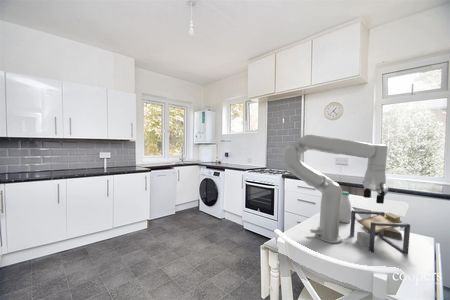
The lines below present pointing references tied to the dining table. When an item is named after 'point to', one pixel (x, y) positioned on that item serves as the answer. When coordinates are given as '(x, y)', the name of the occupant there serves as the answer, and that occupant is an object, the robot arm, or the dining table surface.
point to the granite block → (363, 238)
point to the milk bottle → (345, 208)
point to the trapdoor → (379, 218)
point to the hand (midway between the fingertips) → (372, 200)
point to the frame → (372, 231)
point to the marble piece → (389, 233)
